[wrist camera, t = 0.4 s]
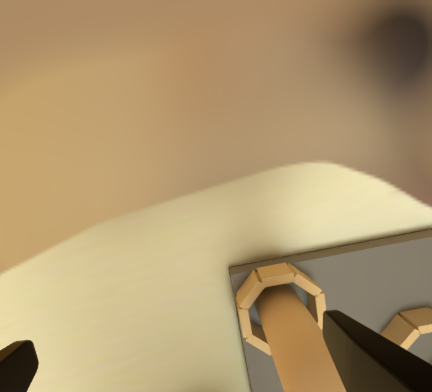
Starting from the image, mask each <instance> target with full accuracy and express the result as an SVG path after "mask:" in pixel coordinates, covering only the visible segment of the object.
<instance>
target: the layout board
mask: <svg viewBox="0 0 432 392" xmlns="http://www.w3.org/2000/svg"><path fill="white" fill-rule="evenodd" d="M229 271H230V277H231V282H232V287H233V293H234V298H235V304H236V309H237V314H238V320H239V325H240V331H241V336H242V341H243V347H244V352H245V358H246V363H247V368H248V374H249V379H250V385H251V390H252V392H346V390H345V388H344V385H343V383H342V381H341V378H340V376H339V374H338V372H337V369H336V367H335V365H334V362H333V360H332V358H331V355H330V353H329V351H328V348H327V346H326V344H325V341H324V339H323V334H322V328H323V312H324V311H325V310H334V309H336V310H339V311H341V312H343V313H344V314H346V315H348V316H349V317H351V318H353V319H355V320H356V321H358V322H360V323H361V324H363V325H365V326H367V327H368V328H370V329H372V330H373V331H375V332H377V333H379V334H380V335H382V336H384V337H385V338H387V339H389V340H391V341H392V342H394V343H396V344H397V345H399V346H401V347H402V348H404V349H406V350H408V351H409V352H411V353H413V354H414V355H416V356H418V357H420V358H421V359H423V360H425V361H426V362H428V363H430V364H432V229H429V230H424V231H419V232H413V233H408V234H403V235H398V236H392V237H387V238H382V239H377V240H371V241H366V242H361V243H356V244H350V245H345V246H340V247H335V248H329V249H324V250H319V251H314V252H308V253H303V254H298V255H293V256H287V257H282V258H277V259H272V260H266V261H261V262H256V263H251V264H245V265H240V266H235V267H230V268H229Z"/></svg>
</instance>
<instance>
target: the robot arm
mask: <svg viewBox="0 0 432 392" xmlns="http://www.w3.org/2000/svg"><path fill="white" fill-rule="evenodd" d="M322 334H323V339H324V341H325V344H326V346H327V348H328V351H329V353H330V355H331V358H332V360H333V362H334V365H335V367H336V369H337V372H338V374H339V376H340V378H341V381H342V383H343V385H344V388H345V390H346V392H432V364H430V363H428V362H426V361H425V360H423V359H421V358H420V357H418V356H416V355H414V354H413V353H411V352H409V351H408V350H406V349H404V348H402V347H401V346H399V345H397V344H396V343H394V342H392V341H391V340H389V339H387V338H385V337H384V336H382V335H380V334H379V333H377V332H375V331H373V330H372V329H370V328H368V327H367V326H365V325H363V324H361V323H360V322H358V321H356V320H355V319H353V318H351V317H349V316H348V315H346V314H344V313H343V312H341V311H339V310H336V309H334V310H325V311H324V312H323V328H322ZM38 364H39V362H38V358H37V354H36V351H35V347H34V344H33V342H32V341H31V340H22V341H16V342H14V343H12V344H10V345H8V346H7V347H5V348H4V349H2V350H0V392H27V390H28V388H29V386H30V384H31V382H32V380H33V378H34V376H35V374H36V372H37V369H38Z"/></svg>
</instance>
